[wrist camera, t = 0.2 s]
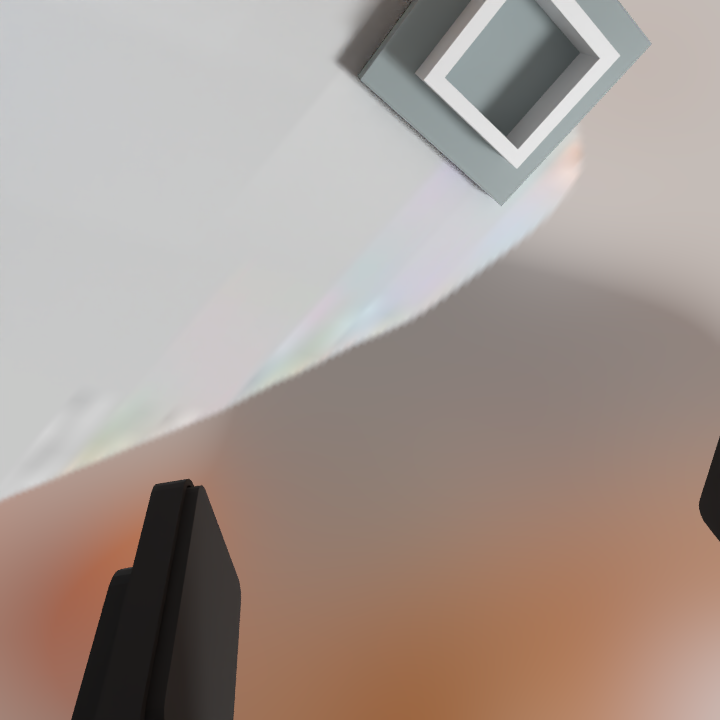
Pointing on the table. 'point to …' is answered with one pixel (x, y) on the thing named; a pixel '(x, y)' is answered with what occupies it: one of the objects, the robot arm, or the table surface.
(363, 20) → the table surface
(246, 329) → the table surface
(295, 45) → the table surface
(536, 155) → the bracket
